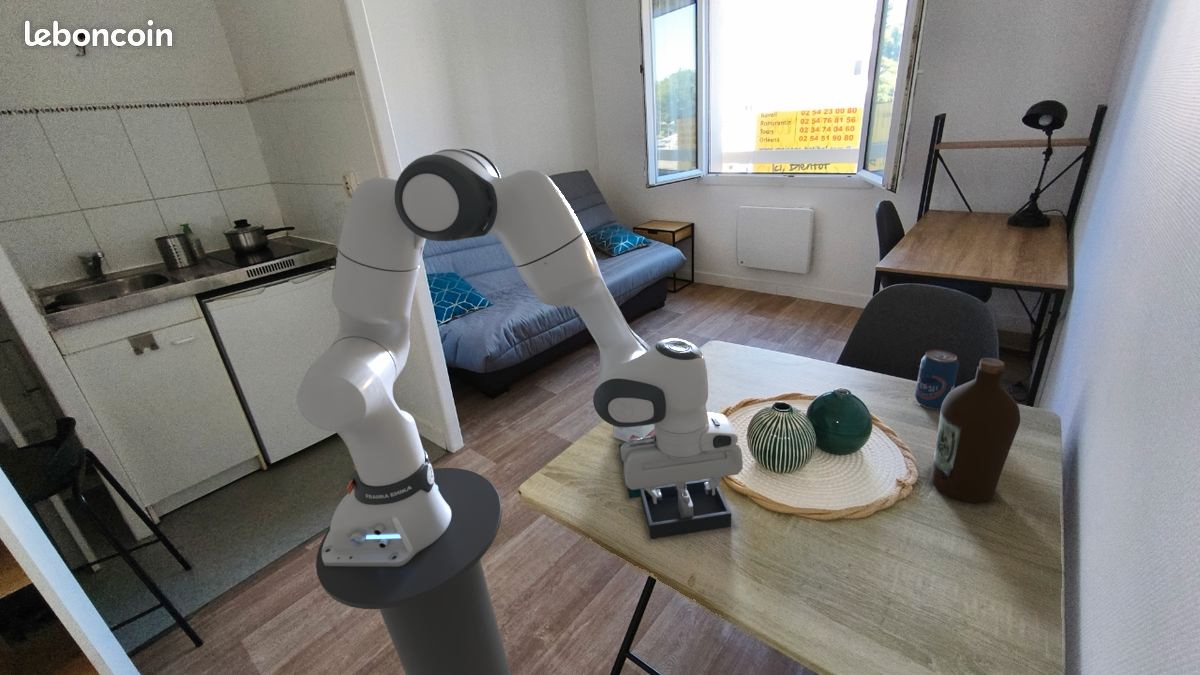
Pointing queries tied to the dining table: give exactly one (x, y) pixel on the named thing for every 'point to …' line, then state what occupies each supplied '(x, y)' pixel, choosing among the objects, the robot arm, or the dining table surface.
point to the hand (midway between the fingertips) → (683, 497)
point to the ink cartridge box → (633, 432)
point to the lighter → (684, 501)
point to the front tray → (667, 517)
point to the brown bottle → (975, 435)
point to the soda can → (936, 378)
